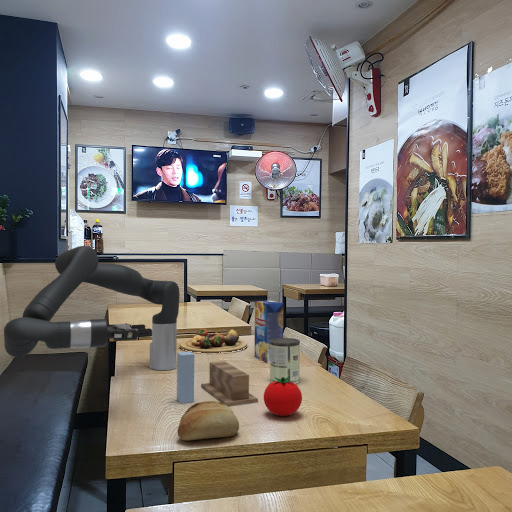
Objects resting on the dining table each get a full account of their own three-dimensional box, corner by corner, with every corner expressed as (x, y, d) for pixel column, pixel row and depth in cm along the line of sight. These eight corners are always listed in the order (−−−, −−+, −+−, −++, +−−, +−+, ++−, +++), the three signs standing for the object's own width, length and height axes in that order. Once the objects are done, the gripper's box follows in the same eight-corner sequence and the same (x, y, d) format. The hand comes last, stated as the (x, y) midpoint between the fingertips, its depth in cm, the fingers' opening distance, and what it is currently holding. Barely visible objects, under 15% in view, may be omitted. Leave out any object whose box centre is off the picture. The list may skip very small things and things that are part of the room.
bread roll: (171, 434, 112) (172, 401, 112) (230, 425, 118) (230, 394, 118) (183, 450, 103) (183, 413, 103) (245, 439, 109) (245, 405, 109)
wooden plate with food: (175, 343, 232) (175, 326, 232) (237, 339, 241) (237, 323, 241) (185, 358, 201) (185, 338, 201) (255, 353, 211) (255, 335, 211)
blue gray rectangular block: (180, 403, 135) (181, 355, 135) (176, 399, 139) (177, 352, 139) (193, 402, 137) (194, 354, 137) (189, 398, 140) (190, 351, 140)
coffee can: (274, 376, 167) (274, 337, 167) (302, 379, 164) (302, 338, 164) (265, 383, 158) (266, 341, 158) (295, 386, 154) (295, 343, 154)
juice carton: (283, 361, 191) (283, 303, 191) (266, 363, 188) (267, 303, 188) (270, 355, 202) (270, 300, 202) (254, 357, 199) (254, 301, 199)
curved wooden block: (257, 402, 137) (258, 374, 137) (226, 406, 133) (226, 378, 133) (229, 383, 157) (229, 359, 157) (201, 386, 153) (201, 362, 153)
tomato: (270, 406, 133) (271, 371, 133) (306, 411, 129) (306, 375, 129) (257, 418, 123) (258, 380, 124) (295, 423, 120) (295, 384, 120)
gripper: (91, 323, 120) (154, 320, 127) (85, 316, 132) (143, 314, 139) (90, 352, 119) (154, 347, 127) (85, 343, 132) (142, 339, 139)
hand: (148, 330), depth 133 cm, fingers open, 8 cm apart
